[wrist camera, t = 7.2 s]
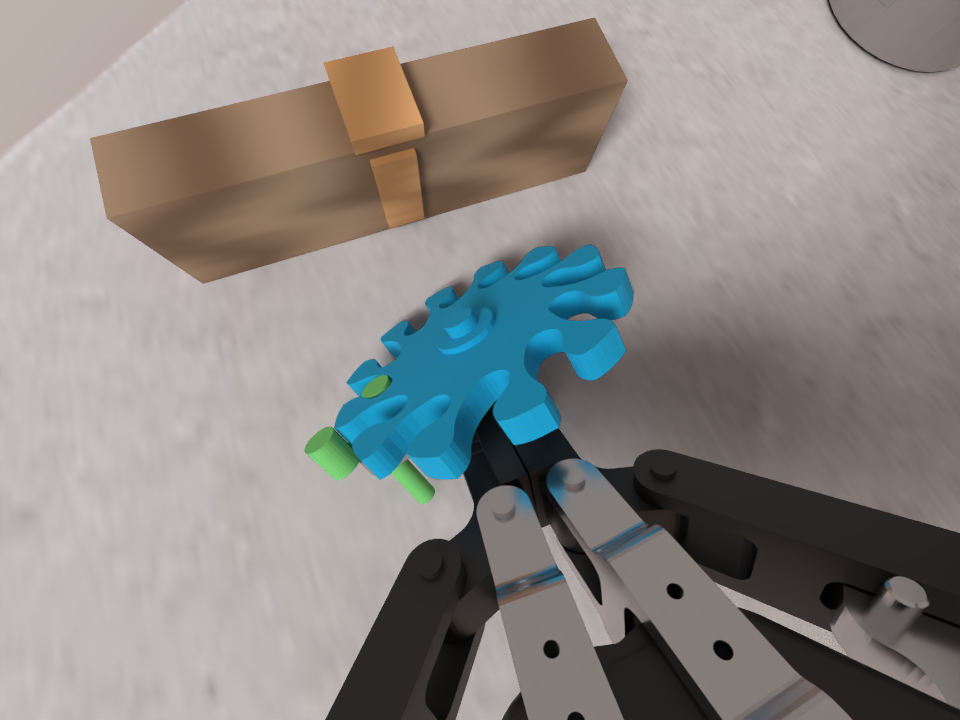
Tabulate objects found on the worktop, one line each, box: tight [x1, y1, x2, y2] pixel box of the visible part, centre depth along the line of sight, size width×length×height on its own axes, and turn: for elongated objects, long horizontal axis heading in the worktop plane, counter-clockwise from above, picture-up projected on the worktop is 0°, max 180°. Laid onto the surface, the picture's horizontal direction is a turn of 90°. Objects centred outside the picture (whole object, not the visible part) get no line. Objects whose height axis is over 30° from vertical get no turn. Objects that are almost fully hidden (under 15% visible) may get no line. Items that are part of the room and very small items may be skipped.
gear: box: [305, 244, 634, 504], centre depth 14 cm, size 11×6×10 cm
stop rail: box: [90, 18, 628, 283], centre depth 16 cm, size 18×3×6 cm, turn 110°
